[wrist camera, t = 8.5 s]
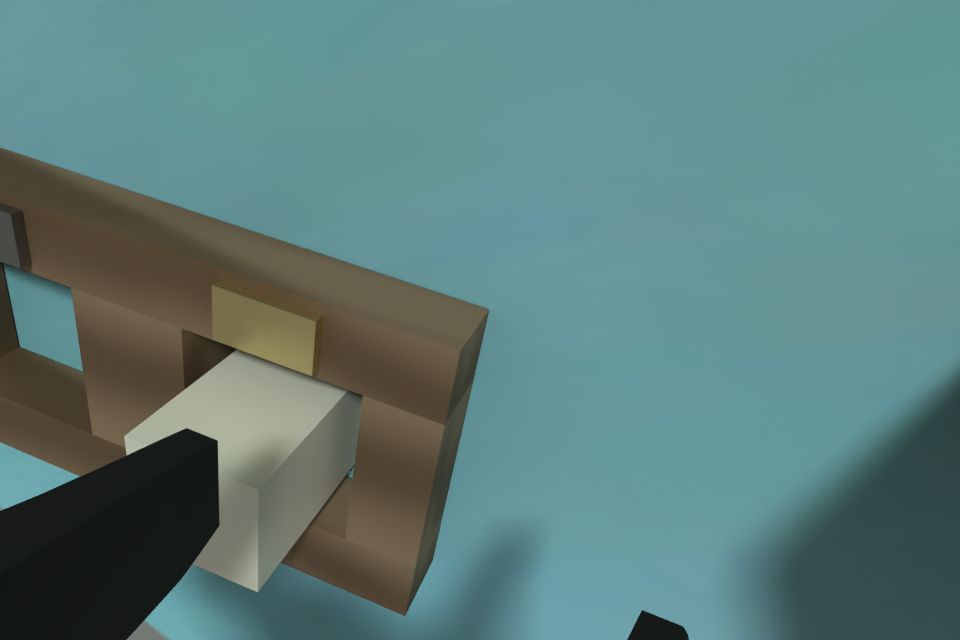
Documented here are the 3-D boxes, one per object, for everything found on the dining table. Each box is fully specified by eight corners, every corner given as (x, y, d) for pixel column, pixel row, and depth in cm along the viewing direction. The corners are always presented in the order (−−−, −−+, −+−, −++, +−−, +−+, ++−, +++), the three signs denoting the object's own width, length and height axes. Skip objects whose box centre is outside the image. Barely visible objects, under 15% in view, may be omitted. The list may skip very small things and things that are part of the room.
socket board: (432, 561, 25) (405, 616, 22) (-19, 376, 28) (-78, 408, 26) (489, 309, 19) (460, 351, 17) (-81, 120, 23) (-164, 135, 21)
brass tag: (319, 369, 19) (311, 376, 18) (221, 333, 19) (212, 339, 19) (323, 315, 18) (316, 321, 17) (221, 279, 18) (211, 285, 18)
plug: (357, 459, 23) (257, 592, 18) (259, 422, 24) (137, 540, 19) (367, 369, 21) (258, 490, 16) (260, 331, 22) (123, 436, 17)
